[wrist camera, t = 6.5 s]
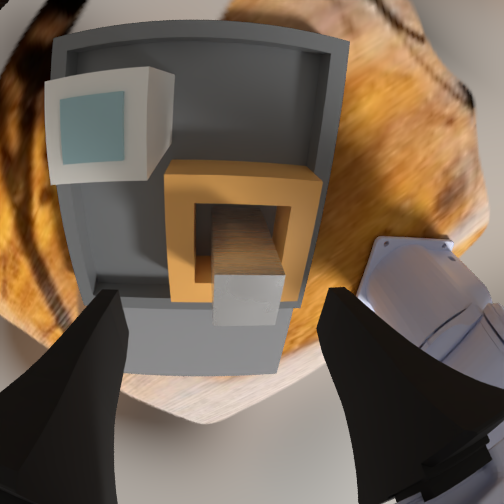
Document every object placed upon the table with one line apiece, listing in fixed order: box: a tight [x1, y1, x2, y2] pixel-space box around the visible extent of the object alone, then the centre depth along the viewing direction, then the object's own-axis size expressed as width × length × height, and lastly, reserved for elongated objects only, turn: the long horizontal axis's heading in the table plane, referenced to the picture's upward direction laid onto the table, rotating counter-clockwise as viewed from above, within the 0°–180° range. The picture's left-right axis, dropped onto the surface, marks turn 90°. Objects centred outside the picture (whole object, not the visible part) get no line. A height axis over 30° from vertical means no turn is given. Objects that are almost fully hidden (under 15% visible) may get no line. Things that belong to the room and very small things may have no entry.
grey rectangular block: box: [211, 207, 286, 326], centre depth 16 cm, size 3×3×7 cm
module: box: [45, 66, 175, 185], centre depth 11 cm, size 4×4×7 cm
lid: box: [123, 308, 293, 376], centre depth 24 cm, size 16×11×1 cm, turn 85°
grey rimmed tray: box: [51, 20, 350, 310], centre depth 16 cm, size 16×18×4 cm
